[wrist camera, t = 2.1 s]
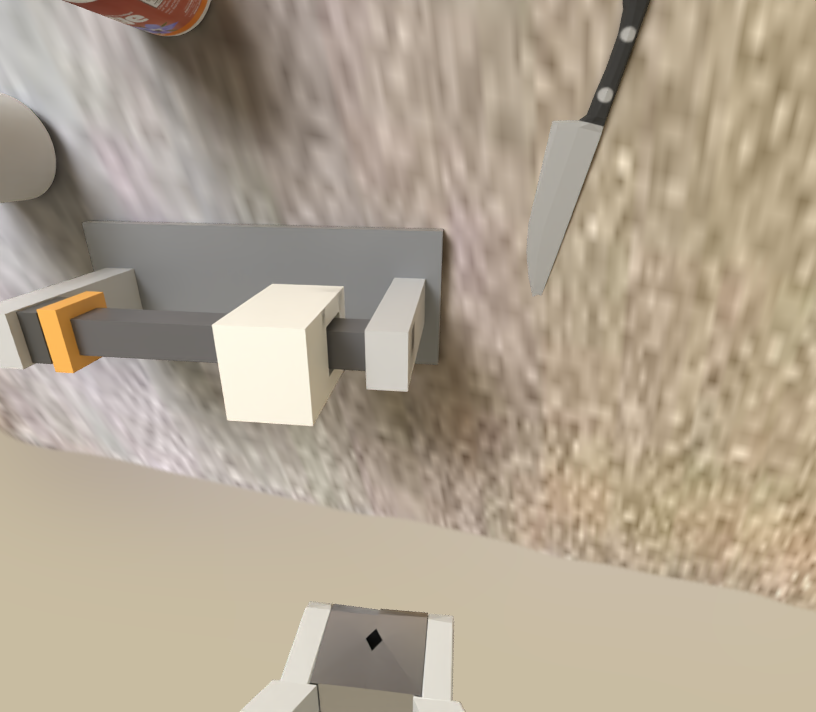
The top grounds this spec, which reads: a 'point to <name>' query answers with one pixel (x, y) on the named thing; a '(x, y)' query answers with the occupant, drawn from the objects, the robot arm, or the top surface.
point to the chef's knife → (574, 156)
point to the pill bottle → (151, 13)
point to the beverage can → (23, 153)
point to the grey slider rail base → (233, 295)
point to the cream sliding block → (278, 354)
